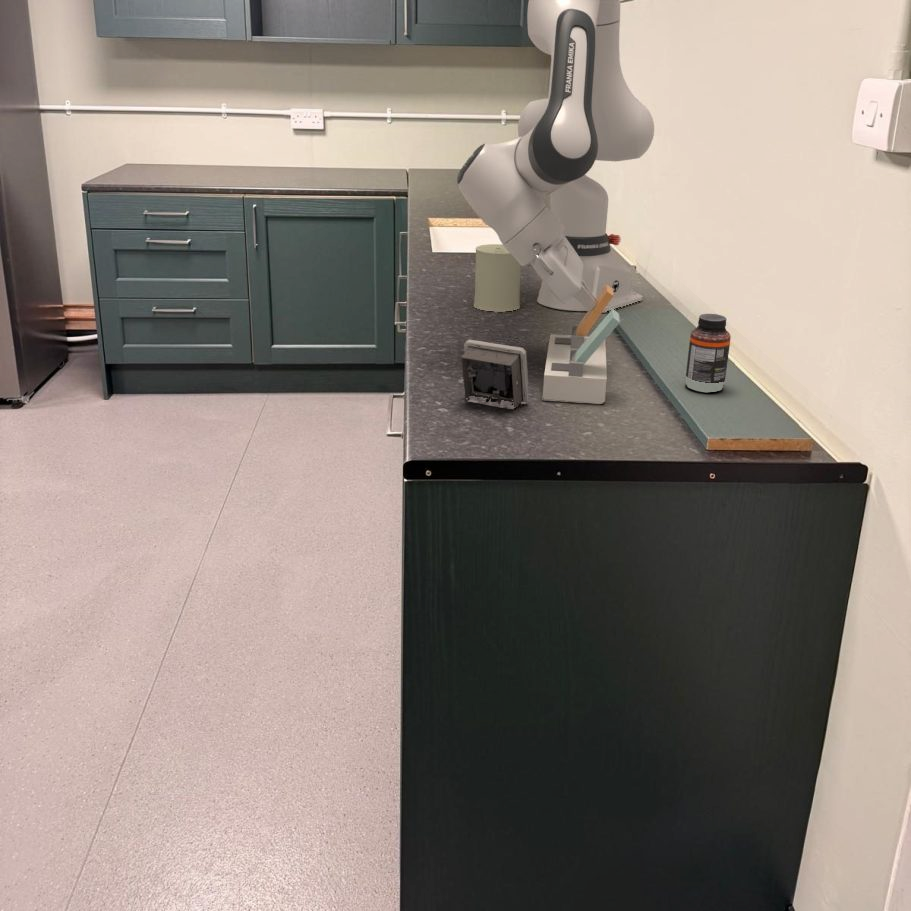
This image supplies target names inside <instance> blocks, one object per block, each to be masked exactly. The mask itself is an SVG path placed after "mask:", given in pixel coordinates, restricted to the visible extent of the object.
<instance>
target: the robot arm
mask: <svg viewBox="0 0 911 911" xmlns="http://www.w3.org/2000/svg"><path fill="white" fill-rule="evenodd" d="M526 19H527V20H526V21H527V23H526V24H527V34H528V37H529V39H530V41H531V42H532V44H534V46H535V47H536V48H537V49H538V50H540V51H541V52H543V54H547V55H550V57H551V61H550V73H549V87H548V97H547V98H541V99H536V100H532V101H530V102H528V104H527V105H526V106H525V107H524V108H523V110H522V112H521V114H520V115H519V119H518V123H517V133H518V137H516V138H514V139H511V140H508V141H504V142H499V143H486V142H485V143H483V144H481V145H479V146H478V147H477V148H476V149H475V150H474V151H473V152H472V154H471V155H470V157H468V159H467V160H466V162H465V163H464V164H463V165H462V166H461V168H460V170H459V172H458V175H457V177H456V178H457V179H456V180H457V183H456V184H457V186H458V189H459V191H460V193H461V194H462V196H463V198H464V199H465V201H466V202H467V203H468V204H469V206H470V207H471V209H472V210H473V211H474V213H476V215H477V216H478V217H479V218H480V220H481V221H482V222H483V223H484V224H485V225H487V226H488V227H490V228H491V229H492V230H493V231H494V232H495V234H496V235H497V237H498V239H499V241H500V243H501V244H502V245H504V246H505V247H506V249H507V250H508V251H509V252H510V253H511V254H512V256H513V257H514V258H515V259H516V260H517V261H518V262H519V264H520V265H521V267H526V266H527V265H529V264H530V265H531V266H532V268H533V269H534V271H535V273H536V274H537V275H538V276H539V278H540V279H541V286H540V288H539V289H538V290H539V291H538V295H537V296H538V297H537V299H536V302H537V303H538V304H540V305H542V306H544V307H548V308H552V309H557V310H562V311H572V312H574V311H576V312H588V311H590V310H592V309H593V308H594V307H595V306H596V305H597V303H596V302H597V298H598V296H599V295H600V293H601V292H602V290H603V289H604V288H605V286H606V285H608V286H610V287H611V288H613V297H612V299H611V300H610V302H609V303H608V304H607V306H606V307H605V309H604V310H603V312H602V313H603V314H604V313H608V312H607V311H608V309H609V308H618V307H621V308H623V306H625V307H627V306H626V305H628V306H630V305H629V304H631V305H633V304H632V303H634V302H637V301H640V300H642V301H643V295H641V294H640V293H638V292H636V291H634V290H633V288H632V287H633V280H632V278H633V277H632V272H631V270H630V269H629V268H628V267H627V266H626V265H625V264H624V263H623V262H622V261H620V259H618V257H616V256H615V255H614V254H613V252H612V249H611V245H614V246H619V245H620V243H621V241H622V239H621V235H620V234H614V233H611V234H609V235H608V233H607V222H608V211H609V195H608V192H607V190H606V189H605V187H604V186H602V185H601V184H600V183H599V182H598V181H596V180H594V179H593V178H591V177H589V176H588V175H586V174H587V173H588V172H589V171H590V170H591V169H592V168H593V167H594V166H593V165H594V164H595V162H596V161H601V162H602V161H603V162H605V161H606V162H623V161H631V160H635V159H641V157H642V156H644V154H646V152H647V151H648V150H649V148H650V147H651V145H652V141H653V140H654V135H655V122H654V119H653V116H652V114H651V112H650V110H649V109H648V108H647V106H646V105H644V103H642V102H641V101H640V100H639V99H637V98H636V97H635V95H634V94H633V92H632V91H631V89H630V88H629V86H628V84H627V82H626V80H625V76H624V75H623V71H622V68H621V56H620V27H621V25H620V24H621V0H528V4H527V17H526ZM548 195H549V197H550V198H549V199H550V203H549V206H550V207H549V208H548V206H547V204H545V202H544V197H546V196H548ZM640 302H641V301H640ZM637 303H638V302H637ZM634 304H635V303H634ZM618 309H619V308H618ZM602 313H601V314H602Z"/></svg>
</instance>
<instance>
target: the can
mask: <svg viewBox="0 0 911 911" xmlns="http://www.w3.org/2000/svg"><path fill="white" fill-rule="evenodd" d="M521 271H522V266H521V265H520V264H519V262H518V261H517V260H516V259H515V258H514V257H513V256H512V254H511V253H510V252H509V251H508V250H507V249H506V247H505V246H504V245H503V244H502V243H501V244H500V243H499V244H497V243H496V244H495V243H494V244H490V243H489V244H483V245H478V246H476V248H475V276H474V277H475V279H474V280H475V281H474V299H473V300H474V301H473V308H475V309H476V308H477V309H476V310H478V309H480V310H479V311H481V310H485V311H484V312H486V311H494V312H493V313H497V312H503V313H506V312H505V311H512V312H514V311H513V310H516V311H518V310H519V309H520V308H521V305H520V293H521V292H520V291H521V273H522V272H521ZM517 309H518V310H517Z"/></svg>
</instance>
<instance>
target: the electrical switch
mask: <svg viewBox="0 0 911 911" xmlns="http://www.w3.org/2000/svg"><path fill="white" fill-rule="evenodd" d="M463 350H464V354H463V355H461V359H460V360H461V368H462V370H461V371H462V378H463V388H464V389H463V390H464V396H465V397H464V398H465V400H466V398H468V397H469V396H475V397H483V398H488V400H490V399H492V397H494V398H497V400H496V401H499V400H504V401H509V402H514V407H516V406H517V405H518V406H520V405H521V404H520V403H521V402H526V404H527V403H528V402H529V400H530V393H529V378H528V362H527V361H528V360H527V359H528V358H527V350H525V348H523V347H518V346H511V345H507V344H500V343H494V342H487V341H481V340H473V339H468V340H466V341H465V343H464V344H463ZM476 394H477V395H476ZM488 396H489V397H488ZM468 399H469V398H468ZM492 400H493V399H492ZM512 400H513V401H512ZM499 402H500V401H499ZM519 404H520V405H519ZM518 406H517V407H518Z"/></svg>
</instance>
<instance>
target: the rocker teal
mask: <svg viewBox="0 0 911 911" xmlns="http://www.w3.org/2000/svg"><path fill="white" fill-rule="evenodd" d="M620 323H621V320H620V313H618V312H617V311H616V309H615V310H614V309H612V310H611V311H609V313H607V315H606V316H605V317H604V318H603V320H601V322H600V323H599V324H598V325H597V326H596V328H594V330H593V331H592V333H591V334H590V335H589V336H588V338H587V340H586V341H585V342H584V343H583V344H582V346H581V347H580V348H579V349H578V350H577V351H576V353H574V354H573V355H572V361H575V362H583V365H584V364H585V363H586V361H587V360H588V359H589V358H590V357H591V356H592V354H593V353H594V352H595V351H596V350H597V349H598V347H599V346H600V345H601V344H602V343H603V342H604V340H605V341H606V339H607V338H608V337H609V336H610V335H611V333H612V332H613V331H615V329H616V328H617V327H618V325H620Z"/></svg>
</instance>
